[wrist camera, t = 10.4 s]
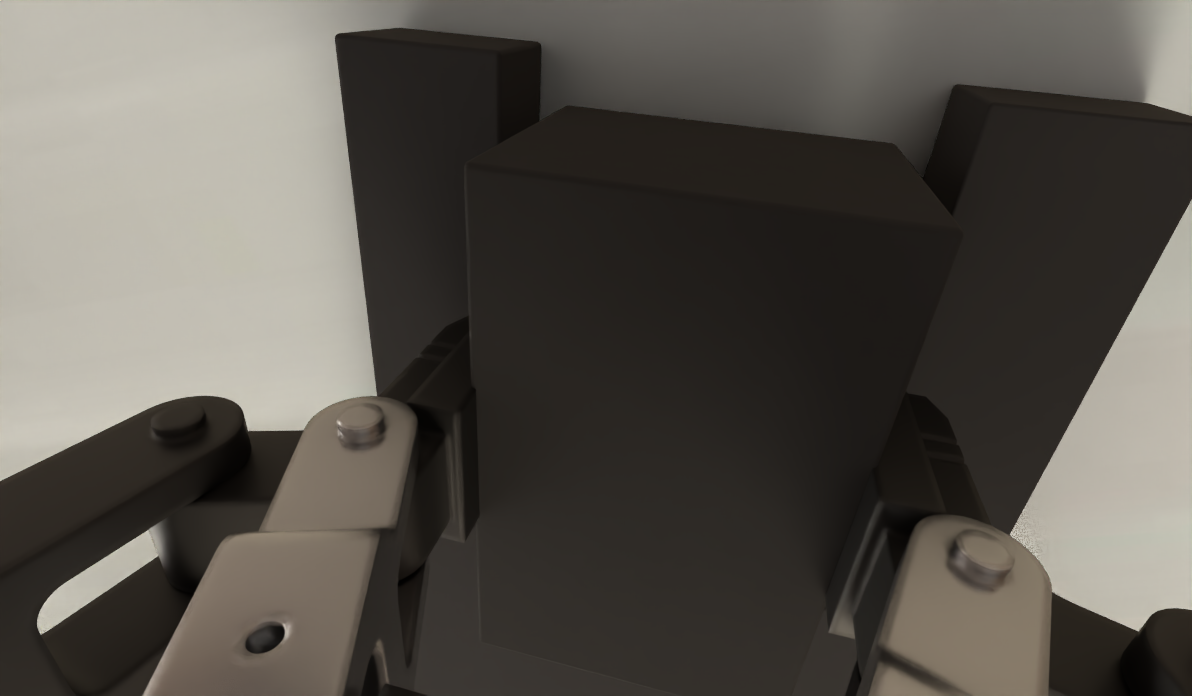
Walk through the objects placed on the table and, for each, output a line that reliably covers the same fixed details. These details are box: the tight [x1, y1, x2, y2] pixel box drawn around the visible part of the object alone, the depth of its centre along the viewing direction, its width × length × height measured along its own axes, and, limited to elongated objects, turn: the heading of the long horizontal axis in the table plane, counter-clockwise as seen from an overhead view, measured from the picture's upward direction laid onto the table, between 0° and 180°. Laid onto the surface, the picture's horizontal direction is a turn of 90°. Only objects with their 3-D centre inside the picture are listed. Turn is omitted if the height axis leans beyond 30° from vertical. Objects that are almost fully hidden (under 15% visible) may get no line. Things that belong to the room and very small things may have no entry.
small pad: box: [464, 106, 964, 696], centre depth 10 cm, size 8×5×4 cm, turn 176°
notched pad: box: [335, 28, 1192, 696], centre depth 14 cm, size 18×12×2 cm, turn 176°
